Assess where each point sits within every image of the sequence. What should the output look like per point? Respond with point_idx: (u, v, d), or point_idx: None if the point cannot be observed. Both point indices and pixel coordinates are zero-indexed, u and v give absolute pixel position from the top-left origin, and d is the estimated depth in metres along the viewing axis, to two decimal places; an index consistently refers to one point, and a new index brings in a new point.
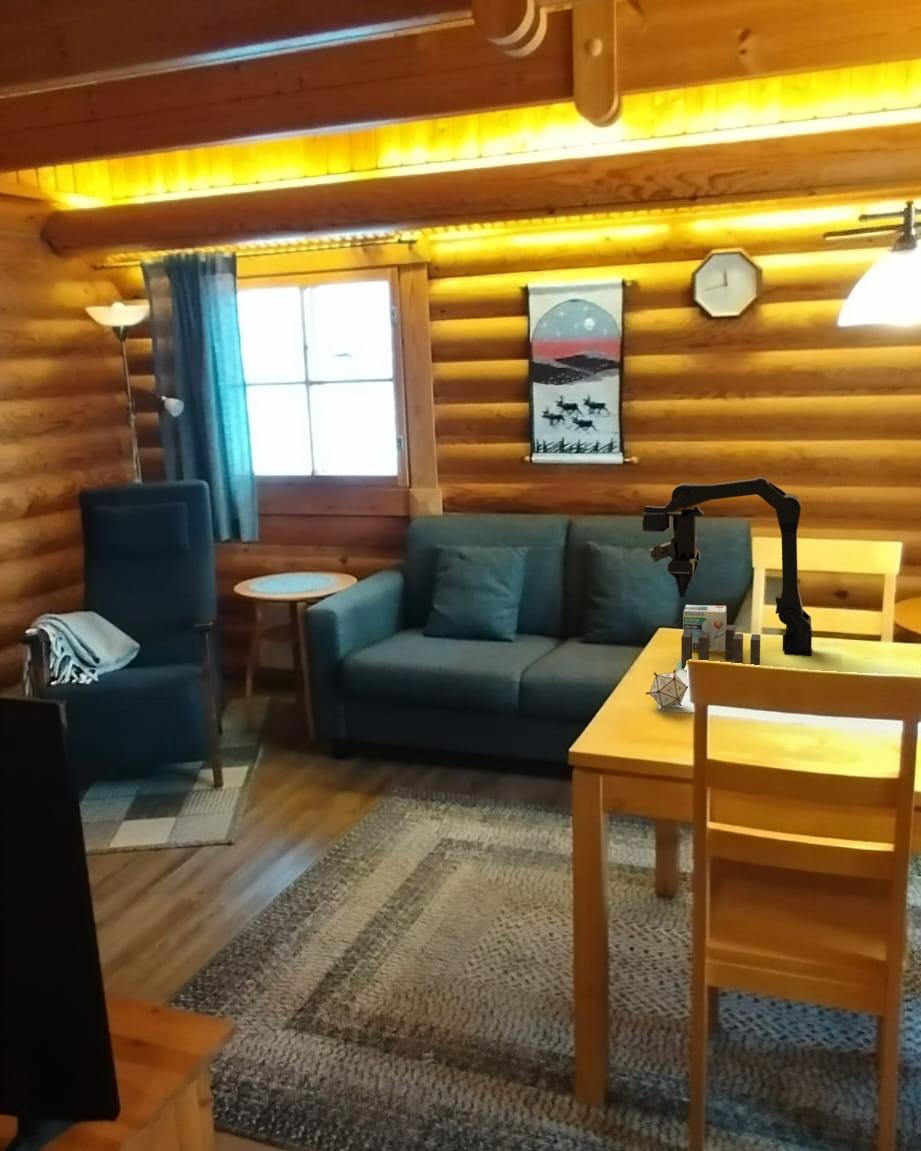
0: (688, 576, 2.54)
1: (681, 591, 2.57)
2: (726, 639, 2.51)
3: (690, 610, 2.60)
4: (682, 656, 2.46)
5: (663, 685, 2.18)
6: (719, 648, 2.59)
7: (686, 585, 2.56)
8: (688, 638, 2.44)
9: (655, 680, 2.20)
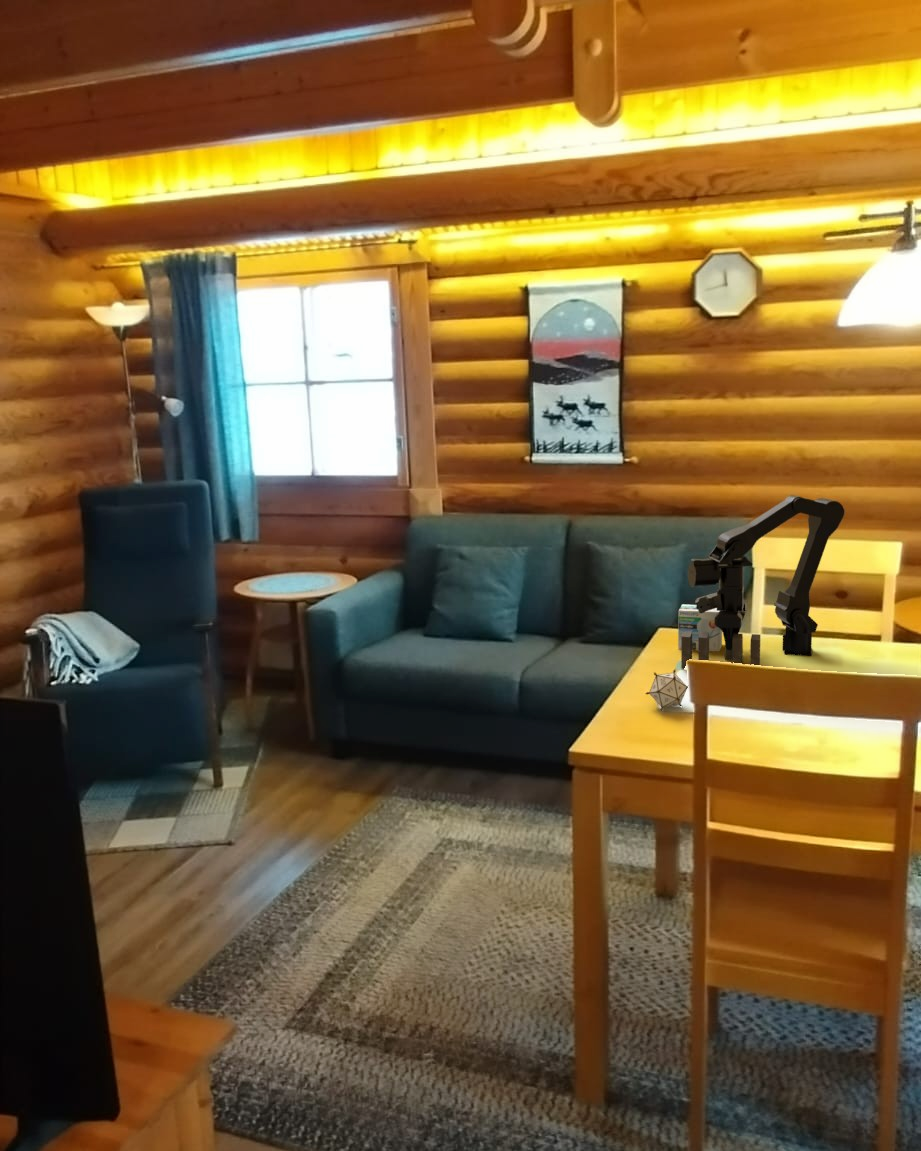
0: (736, 629, 2.46)
1: (728, 644, 2.48)
2: None
3: (685, 610, 2.61)
4: (682, 656, 2.46)
5: (663, 685, 2.18)
6: (714, 648, 2.59)
7: None
8: (688, 638, 2.44)
9: (655, 680, 2.20)
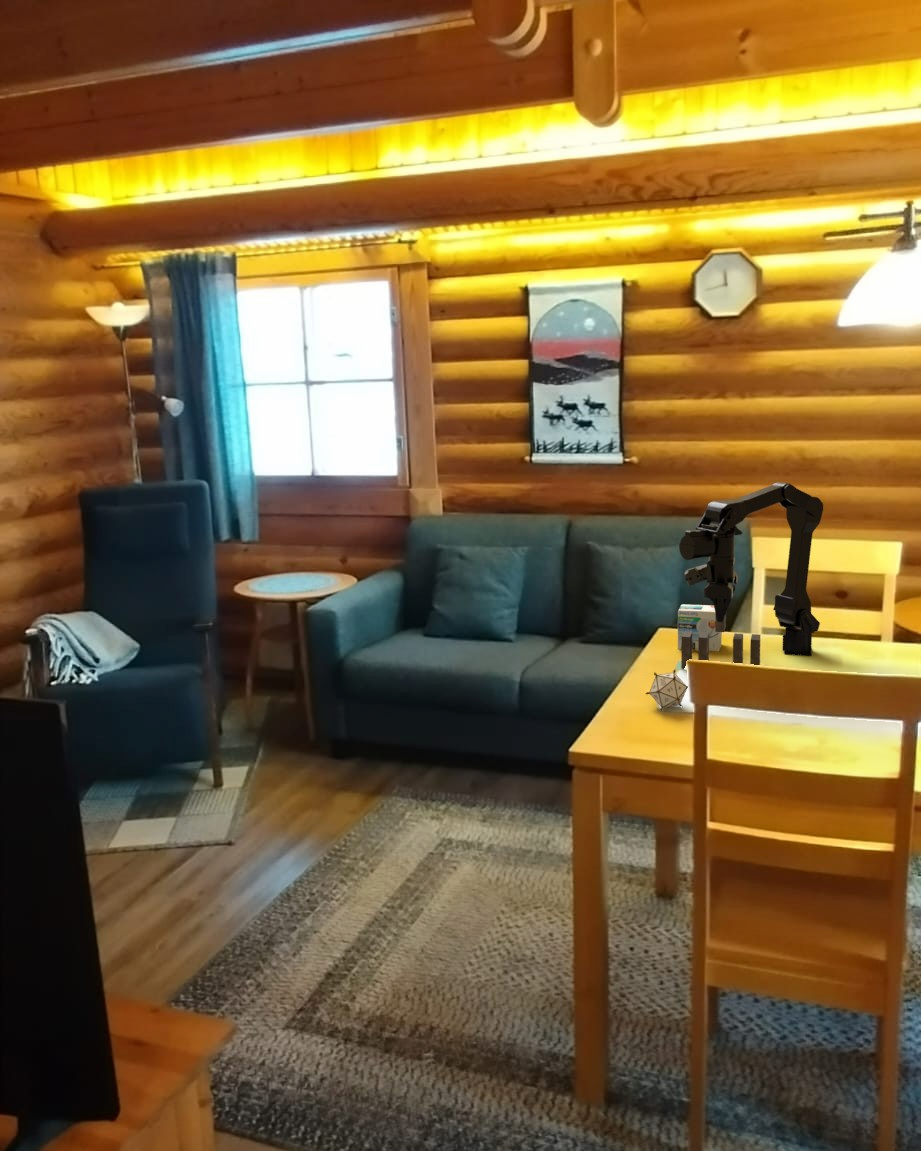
0: (727, 600, 2.38)
1: (719, 616, 2.40)
2: None
3: (685, 609, 2.61)
4: (682, 656, 2.46)
5: (663, 685, 2.18)
6: (713, 648, 2.59)
7: (724, 609, 2.39)
8: (688, 638, 2.44)
9: (655, 680, 2.20)
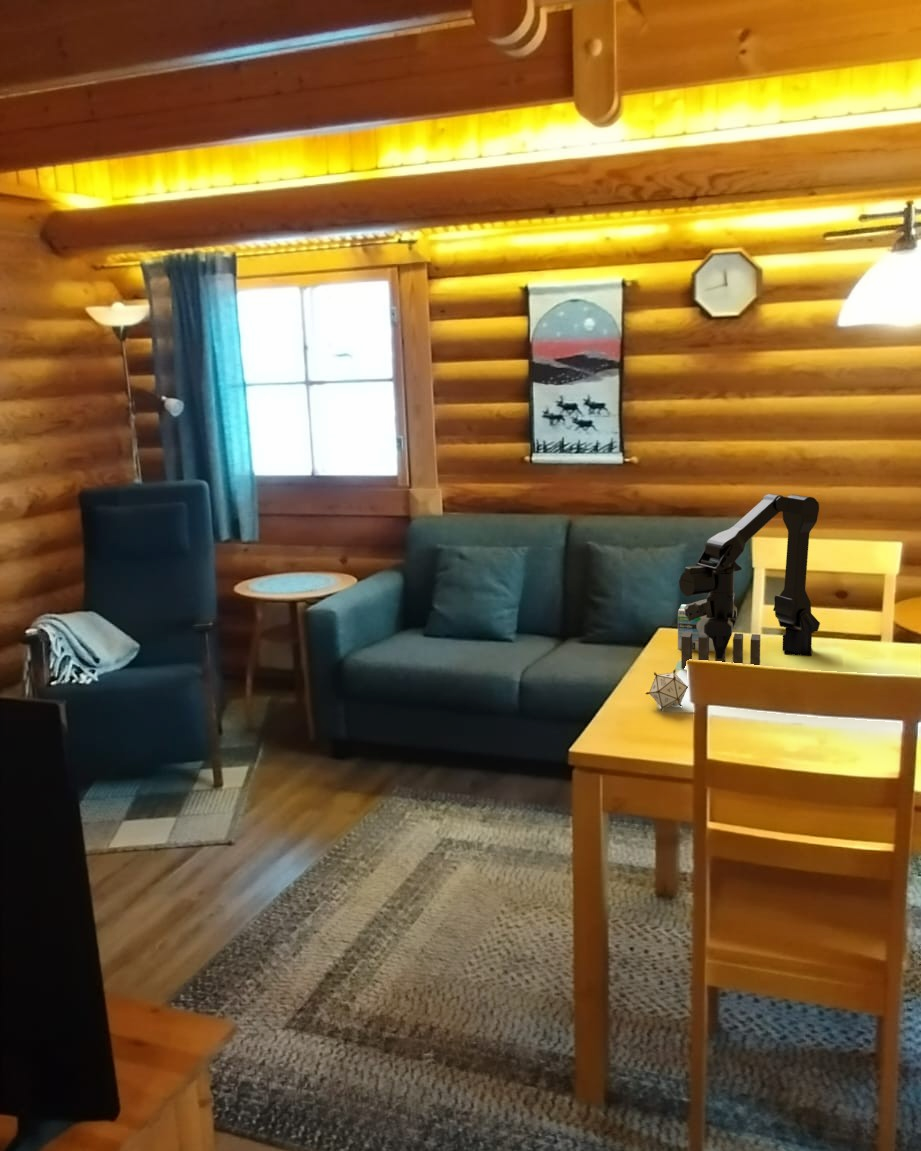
0: (726, 637, 2.38)
1: (718, 653, 2.40)
2: None
3: None
4: (682, 656, 2.46)
5: (663, 685, 2.18)
6: (713, 648, 2.59)
7: (724, 647, 2.39)
8: (688, 638, 2.44)
9: (655, 680, 2.20)
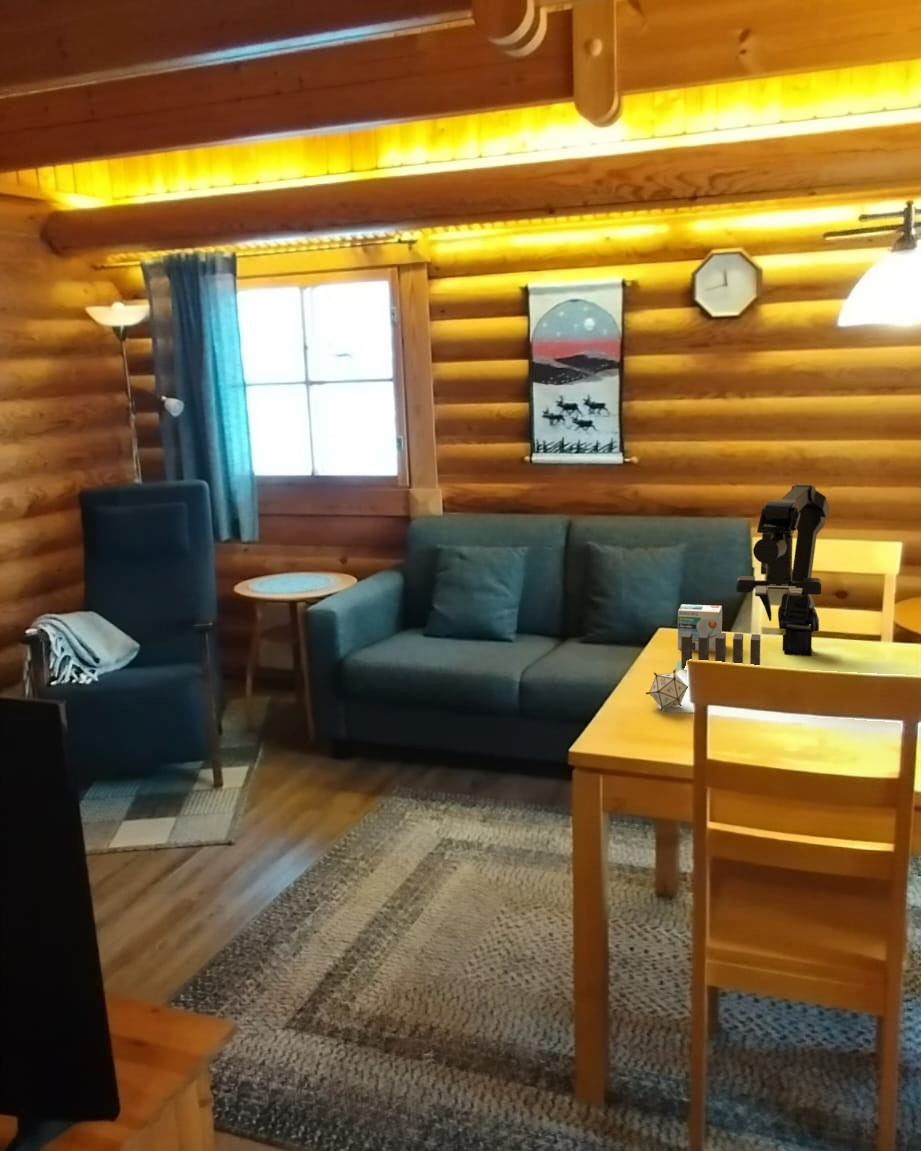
0: None
1: None
2: (716, 647, 2.43)
3: (685, 609, 2.61)
4: (682, 656, 2.46)
5: (663, 685, 2.18)
6: (713, 648, 2.59)
7: (765, 608, 2.38)
8: (688, 638, 2.44)
9: (655, 680, 2.20)
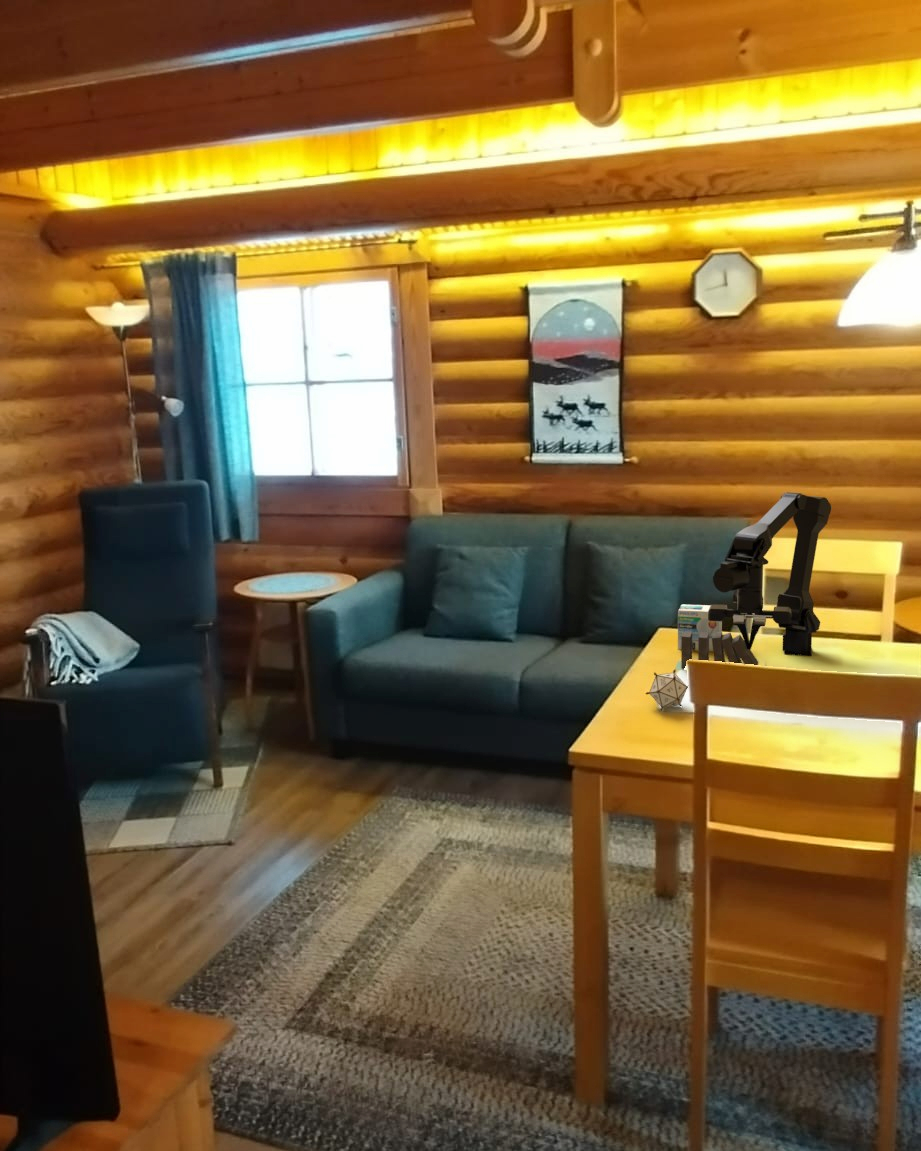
0: None
1: None
2: (714, 647, 2.43)
3: (685, 609, 2.61)
4: (682, 656, 2.46)
5: (663, 685, 2.18)
6: None
7: (743, 636, 2.41)
8: (688, 638, 2.44)
9: (655, 680, 2.20)
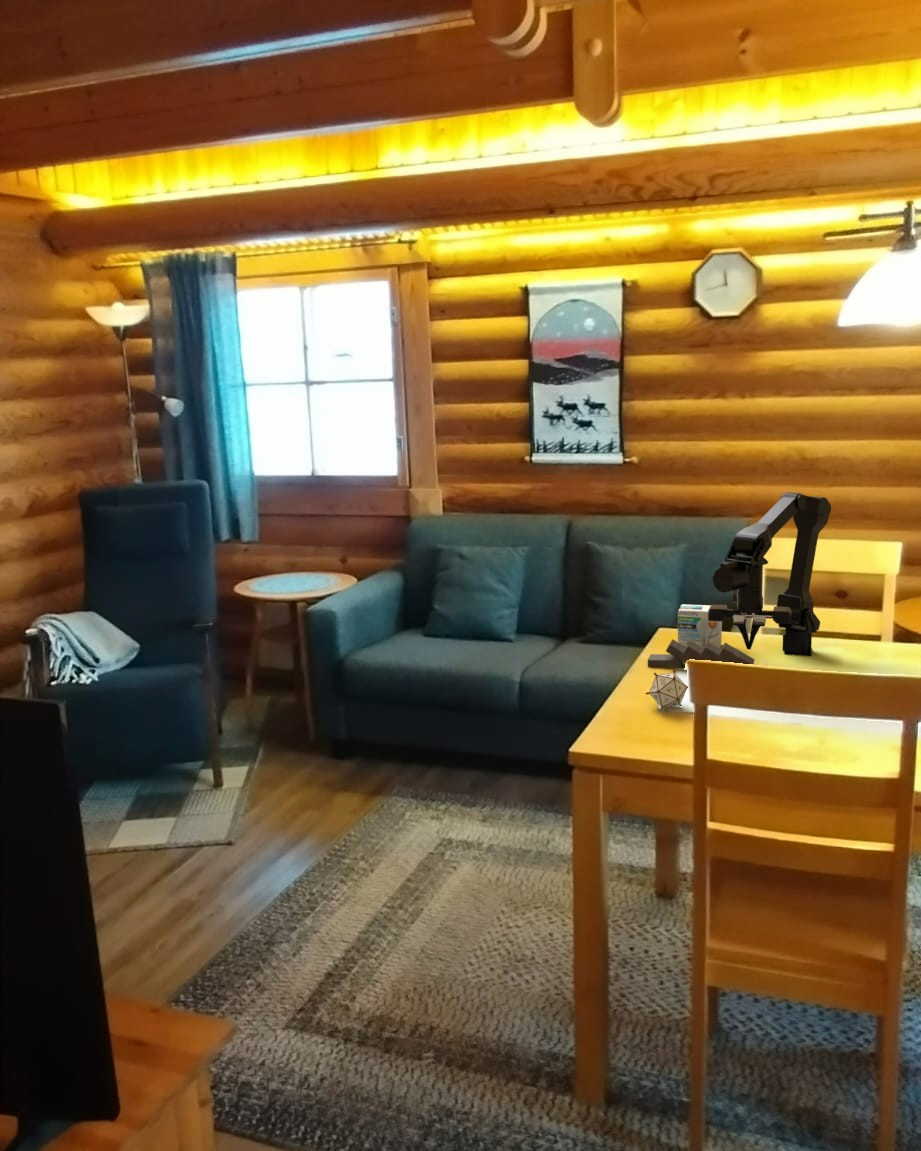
0: None
1: None
2: (693, 657, 2.45)
3: (685, 609, 2.61)
4: (668, 667, 2.48)
5: (663, 685, 2.18)
6: None
7: None
8: (649, 661, 2.49)
9: (655, 680, 2.20)
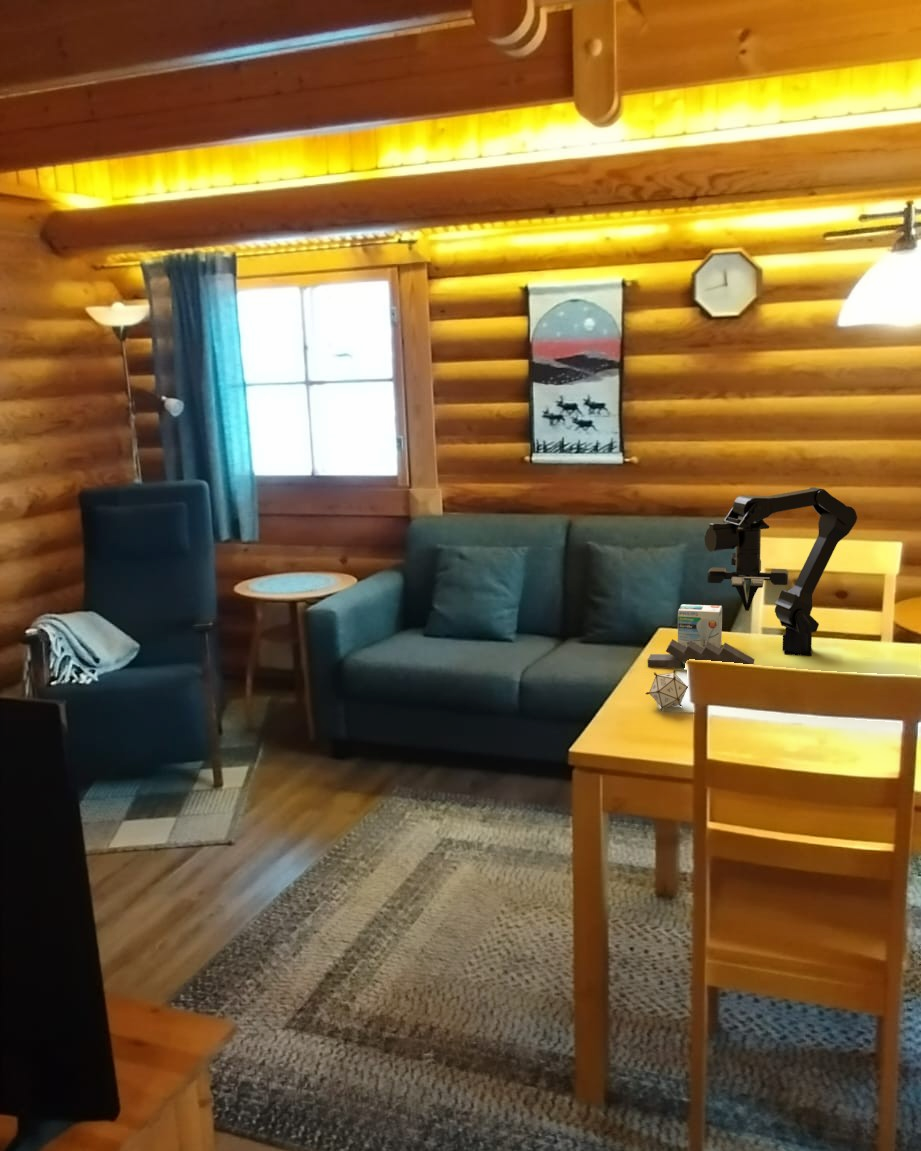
0: None
1: None
2: (693, 657, 2.45)
3: (685, 609, 2.61)
4: (668, 667, 2.48)
5: (663, 685, 2.18)
6: None
7: (741, 598, 2.49)
8: (649, 661, 2.49)
9: (655, 680, 2.20)
